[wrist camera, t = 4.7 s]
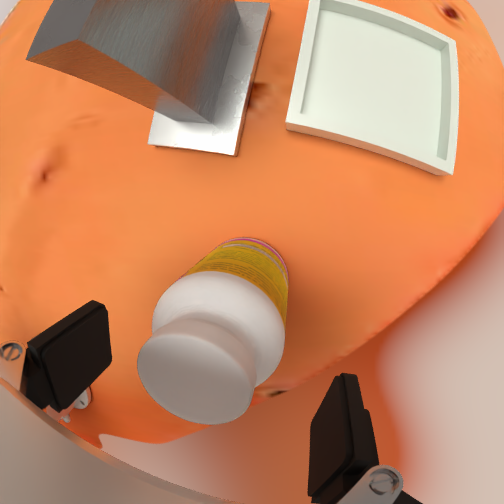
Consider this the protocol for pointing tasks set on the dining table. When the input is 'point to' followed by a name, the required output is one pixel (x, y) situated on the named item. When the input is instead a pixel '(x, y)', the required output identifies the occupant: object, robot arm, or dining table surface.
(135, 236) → the dining table surface
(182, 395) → the supplement bottle
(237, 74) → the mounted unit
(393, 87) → the tray
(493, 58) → the dining table surface
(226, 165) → the dining table surface
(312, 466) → the robot arm
